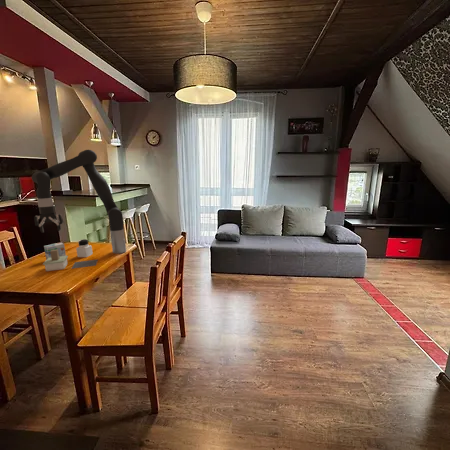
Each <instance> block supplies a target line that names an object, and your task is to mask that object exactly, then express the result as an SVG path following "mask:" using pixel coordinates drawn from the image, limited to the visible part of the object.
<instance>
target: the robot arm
mask: <svg viewBox="0 0 450 450" xmlns="http://www.w3.org/2000/svg"><path fill="white" fill-rule="evenodd" d="M97 160H98V156H97V153H96V152H95V151H93V150H91V149H85V150H82V151H80V152H79V153H78V154H77V155H76V156H74V157H72V158H70V159H67V160H64V161H61V162H58V163H57V164H56V163H55V164H54V165H52V166H49V167H48V168H44V169H41V170H38V171H35V172H34V173H33V174H32V175H31V180H32V181H33V183H36V184H37V189H36V192H35V193H36V197H37V207H38V210H39V215H35V216H33V220H34V226H35V227H38V228H39V231H40V232H41V234H42V233H43V234H44V233H45V229H44V224H45V223H55V224H56V228H57V229H56V230H57V232H60V231H61V229H62V226H61V225H63V224H64V220H63V215H62V213H58V214H56V210H55V205H54V200H53V197H52V192H51V189H52V188H51V187H52V186H51V184H52V183H51V180H52V179H56V178H60V177H62V176H64V175H66V174H68V173H70V172H72V171H74V170H76V169H78V168H80V167H82V168H83V170H84V171H85V173H86V174H87V176H88V179H89V180H90V183H91V185H92V187H93V189H94V191H95V193H96V194H97V196H98V197H99V200H101V202H102V203H103V205H104V208H105V211H106V213H107V216H108V221H109V231H110V232H109V233H110V241H111V248H112V253H113V254H123V253H126V252H127V246H126V238H125V232H124V231H125V230H124V216H123V212H122V211H121V210H120V208H119V207H118V205H117V204H116V202H115V201H114V198H113V195H112V190H111V188H110V186H109V184H108V182H107V180H106V179H105V177H104V176H103V175H102V173H100V171H98V169H97V168H96V165H95V163H96V162H97ZM56 218H57V219H56ZM39 220H41V221H40V223H39ZM58 220H59V221H58Z"/></svg>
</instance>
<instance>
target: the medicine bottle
mask: <svg viewBox="0 0 450 450" xmlns="http://www.w3.org/2000/svg"><path fill="white" fill-rule="evenodd" d="M77 242H78V246H77V247H76V248H75V249H76V255H77V258H88V257H90V256H92V255H93V247H92V245H91V244H90V245H89V239H85V238H83V239H80V240H78V241H77Z"/></svg>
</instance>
